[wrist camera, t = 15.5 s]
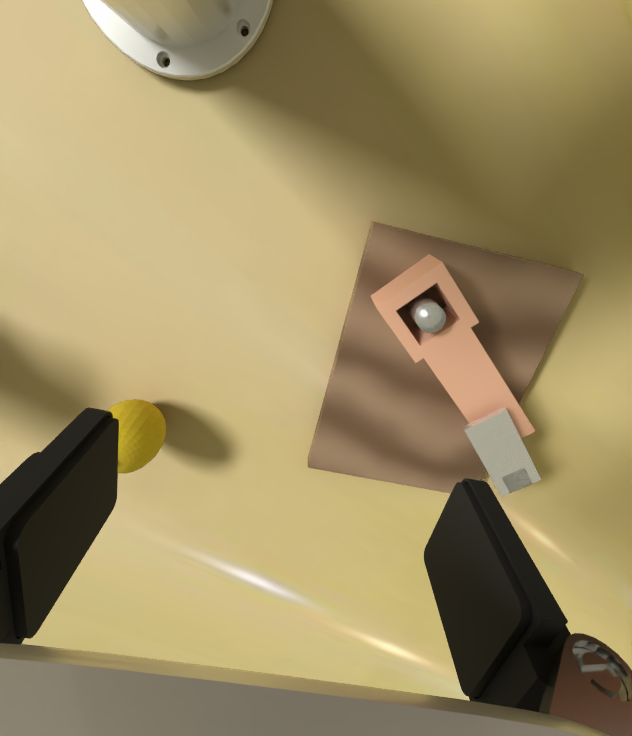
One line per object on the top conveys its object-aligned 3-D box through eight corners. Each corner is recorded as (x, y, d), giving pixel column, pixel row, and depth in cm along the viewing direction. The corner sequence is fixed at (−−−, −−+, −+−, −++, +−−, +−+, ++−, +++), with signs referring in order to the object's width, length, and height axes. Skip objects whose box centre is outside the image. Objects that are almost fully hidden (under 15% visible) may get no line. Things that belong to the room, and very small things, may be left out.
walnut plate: (371, 221, 31) (374, 223, 30) (572, 270, 33) (583, 274, 31) (308, 457, 40) (307, 467, 39) (466, 487, 42) (471, 497, 41)
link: (370, 295, 32) (376, 308, 29) (429, 253, 31) (442, 262, 27) (469, 435, 38) (484, 459, 34) (523, 405, 36) (543, 426, 33)
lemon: (189, 412, 38) (159, 466, 31) (152, 444, 40) (115, 503, 32) (143, 373, 36) (100, 420, 29) (106, 408, 38) (56, 461, 31)
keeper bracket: (441, 392, 37) (464, 430, 32) (476, 374, 37) (506, 409, 31) (475, 452, 40) (501, 496, 34) (508, 436, 39) (541, 479, 34)
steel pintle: (408, 287, 32) (422, 302, 28) (432, 293, 32) (450, 308, 28) (401, 311, 32) (413, 329, 28) (424, 316, 33) (440, 335, 29)
